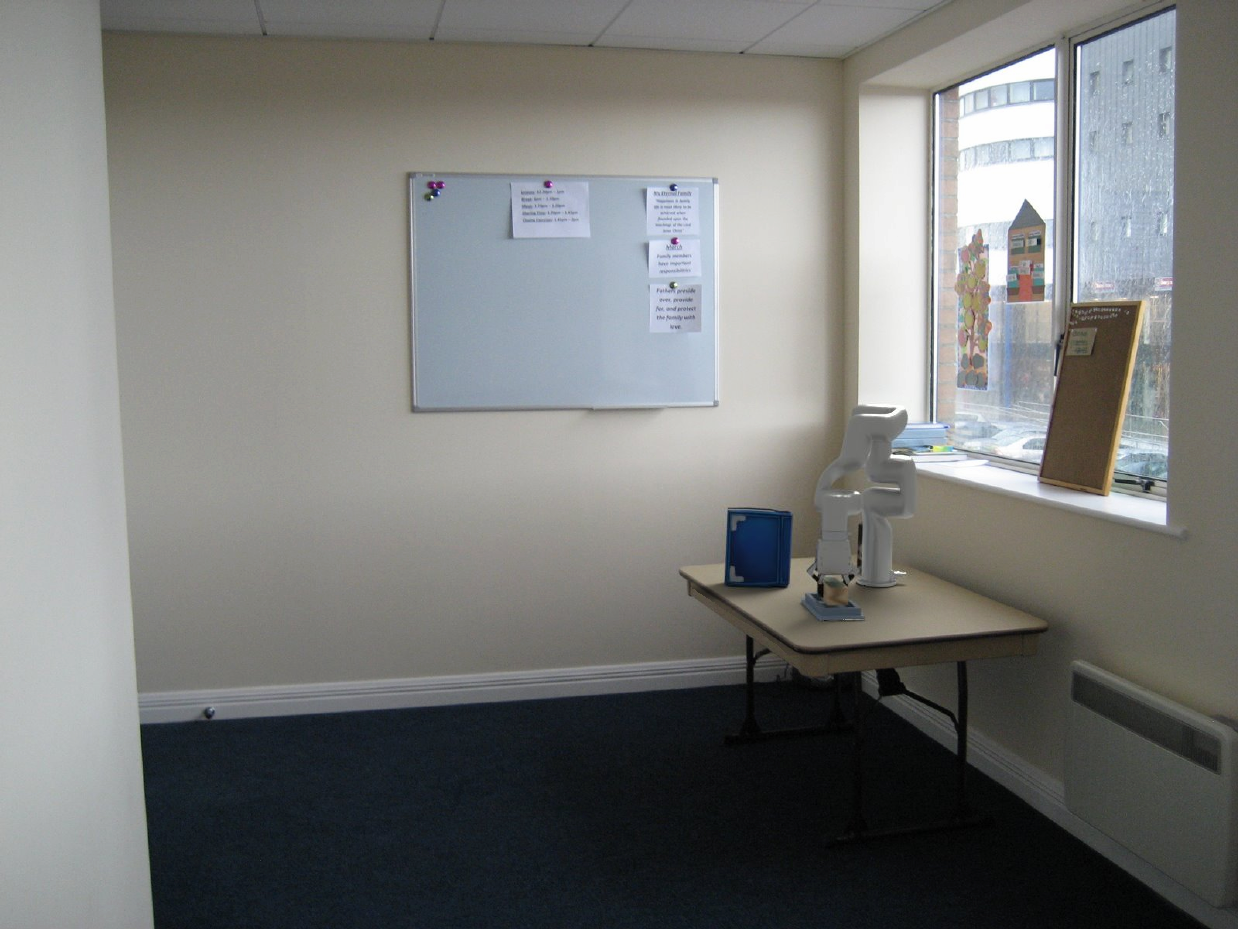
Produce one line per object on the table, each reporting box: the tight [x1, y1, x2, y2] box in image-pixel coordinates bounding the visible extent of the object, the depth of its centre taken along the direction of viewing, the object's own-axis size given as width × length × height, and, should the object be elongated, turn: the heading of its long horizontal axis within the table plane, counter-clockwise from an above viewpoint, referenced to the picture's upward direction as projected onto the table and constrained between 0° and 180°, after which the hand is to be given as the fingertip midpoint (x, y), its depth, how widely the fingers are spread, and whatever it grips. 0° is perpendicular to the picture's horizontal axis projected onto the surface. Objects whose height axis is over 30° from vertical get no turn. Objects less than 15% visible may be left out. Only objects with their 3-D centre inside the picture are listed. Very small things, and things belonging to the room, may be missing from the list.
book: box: [723, 506, 794, 588], centre depth 353 cm, size 22×7×25 cm, turn 84°
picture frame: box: [818, 576, 850, 605], centre depth 320 cm, size 6×14×5 cm, turn 1°
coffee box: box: [856, 521, 863, 571], centre depth 378 cm, size 9×6×16 cm
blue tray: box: [800, 592, 866, 622], centre depth 320 cm, size 13×22×3 cm, turn 4°
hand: (832, 595), depth 320 cm, fingers closed on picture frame, 6 cm apart
